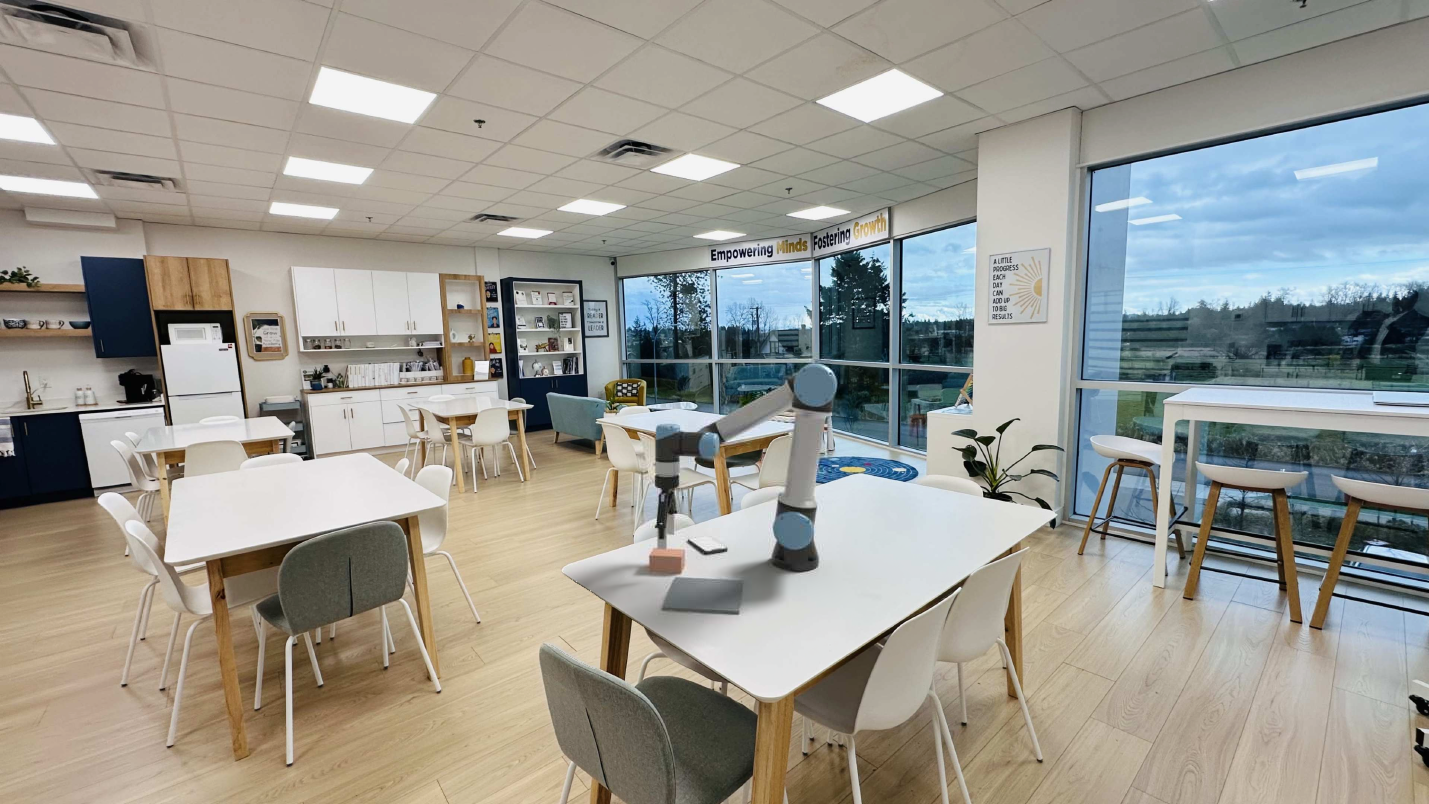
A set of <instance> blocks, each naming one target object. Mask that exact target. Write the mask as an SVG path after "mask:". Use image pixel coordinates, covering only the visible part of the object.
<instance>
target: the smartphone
mask: <svg viewBox="0 0 1429 804" xmlns="http://www.w3.org/2000/svg"><path fill="white" fill-rule="evenodd" d="M687 542H689V544H690V545H691V546H692V545H693V546H692V547H694V548H695V549H697V550H698V551H700V552H701V554H703V553H704V554H703V555H706V556H711V555H716V553H717V554H722V553H727V552H728V547H727V546H725V545H724V544H722V543H720V542H719V541H717V540H715V539H714V538H712V537H711V536H710V535H702V536H698V537H689V538H688V539H687Z"/></svg>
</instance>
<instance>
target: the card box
mask: <svg viewBox="0 0 1429 804" xmlns="http://www.w3.org/2000/svg"><path fill="white" fill-rule="evenodd" d="M685 551H686V549H683V548H682V549H681V548H680V549H679V548H667V549H657V547H654V548H652V550H651V551H650V553H649V556H648V560H649V561H648V567H649V570H648V571H649V573H655V572H657V573H656V574H658V573H661V574H677V575H678V574H679V575H682V574H683V571H684V569H685V566H686V552H685Z"/></svg>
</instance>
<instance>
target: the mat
mask: <svg viewBox="0 0 1429 804" xmlns="http://www.w3.org/2000/svg"><path fill="white" fill-rule="evenodd" d="M743 582H744V580H743V579H728V578H727V579H726V578H725V579H724V578H703V577H701V578H700V577H681V576H675V577H674V579H673V582H672V584H671V587H670V589H669V592H668V593H667V596H666V598H665V600H664V603H663V604H662V611H668V610H672V611H671V612H673V610H674V612H686V611H690V613H705V614H707V613H708V614H727V615H729V614H730V615H739V614H740V605H741V600H742V599H741V598H742V590H743V584H744V583H743Z"/></svg>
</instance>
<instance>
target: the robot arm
mask: <svg viewBox="0 0 1429 804" xmlns="http://www.w3.org/2000/svg"><path fill="white" fill-rule="evenodd" d="M837 389H838V380H837V377H836V375H835V373H834V372H833V370H832V369H831V368H829V366H827V365H825V364H824V363H823V364H822V363H819V362H818V363H809V364H806V365H804V366H803V367H801V368H800V369H799V370H798V371H797V372H796V374H794V375H792V376H791V377H789V378H787V379H786V380H785V381H784V384H783V385H781V386H779V387H778V388H776V389H773V390H772V391H770V392H768V393H767V394H764V395H762V396H760V397H759V398H756V399H755V400H753V401H751V402H749V403H746V404H745V405H743V406H742V407H740V408H738V409H736V410H734V411H733V412H731V413H728V414H727V415H725V416H722V417H721V418H719V419H717V420H716V421H714V422H712V423H709V424H708V425H706V426H703V427H702V428H700V429H699V430H697V431H683V430H682V431H681V426H680V425H679V424H675V423H661V424H657V426H655V437H654V445H655V447H654V451H655V453H654V455H655V456H654V457H655V458H654V462H653V464H652V465H653V467H654V473H655V475H654V487H655V488H657V489H660V490H661V492H660V493H659V494H658V504H657V515H656V524H654V529H657V536H656V538H657V540H656V542H657V545H656V546H657V547H656V548H657V549H668V544H667V542H668V541H667V540H668V535H670V536H672V535H673V536H674V535H675V533H676V532H675V528H676V527H675V524H676V520H675V519H676V517H675V516H676V515H677V514H678V510H677V505H676V502H677V501H676V495H675V493H676V491H675V490H676V489H677V488H679V487H680V475H679V474H680V469H681V468H680V467H681V466H680V464H681V461H680V460H681V459H680V457H692V458H704V459H707V458H717V456H718V454H719V452H720V446H721V445H723V444H724V443H727V442H728V441H731V440H733V439H734V438H736V437H739V436H740V435H742V434H744V433H746V432H748V431H750V430H752V429H754V428H756V427H757V426H760V425H762V424H763V423H765V422H768V421H769V420H771V419H773V418H775V417H777V416H780V415H781V414H782V413H785V412H787V411H788V410H791V409H792V410H793V411H794V414H795V417H794V423H793V431H792V436H791V437H792V439H791V444H790V450H789V457H788V458H789V459H788V464H787V465H788V466H787V472H786V477H785V483H784V490H783V491H780V492H779V493H778V495H777V503H776V510H775V511H776V512H775V516H774V517H775V518H774V521H773V523H772V532H773V533H772V534H773V535H774V538H775V541H776V542H775V544H774V547H773V549H772V553H771V563H772V564H773V566H775V567H777V568H779V569H782V570H785V571H793V572H804V571H811V570H813V569H816V568H817V567H819V565H820V557H819V553H818V549H817V546H816V542H815V539H814V538H815V522H816V515H817V509H818V502H817V501H816V500H815V488H816V482H817V476H818V470H819V469H818V468H819V462H820V456H821V449H822V443H823V436H824V432H825V431H824V430H825V424H826V423H825V422H826V418H827V417H829V416H830V415H832V413H833V406H834V400H835V395H836V393H837Z"/></svg>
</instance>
